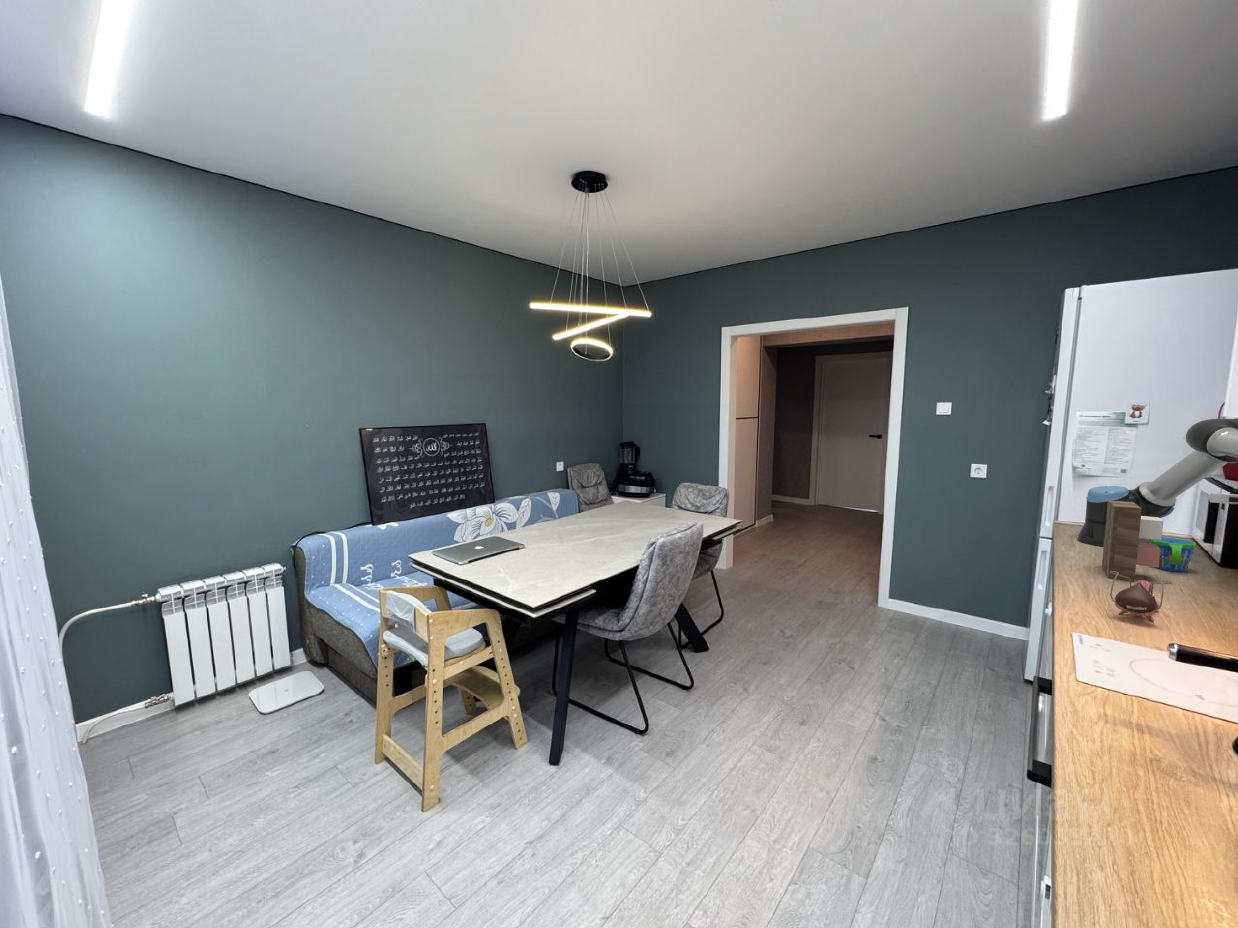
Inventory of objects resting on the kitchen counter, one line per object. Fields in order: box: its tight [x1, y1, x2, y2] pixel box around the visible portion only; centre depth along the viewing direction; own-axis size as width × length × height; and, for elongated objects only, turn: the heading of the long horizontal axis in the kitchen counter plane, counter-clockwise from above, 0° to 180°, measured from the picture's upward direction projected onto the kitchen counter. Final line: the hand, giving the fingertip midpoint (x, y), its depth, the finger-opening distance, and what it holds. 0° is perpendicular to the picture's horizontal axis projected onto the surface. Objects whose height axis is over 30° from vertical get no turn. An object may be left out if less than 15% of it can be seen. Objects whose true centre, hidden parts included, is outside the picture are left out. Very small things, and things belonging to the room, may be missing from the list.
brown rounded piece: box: [1109, 571, 1173, 623], centre depth 132 cm, size 11×15×17 cm
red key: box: [1136, 542, 1160, 568], centre depth 159 cm, size 7×5×6 cm
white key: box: [1139, 516, 1164, 540], centre depth 158 cm, size 7×5×6 cm
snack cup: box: [1149, 536, 1197, 573], centre depth 167 cm, size 16×10×10 cm
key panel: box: [1101, 500, 1142, 583], centre depth 162 cm, size 14×6×24 cm, turn 142°
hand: (1210, 497), depth 149 cm, fingers closed
